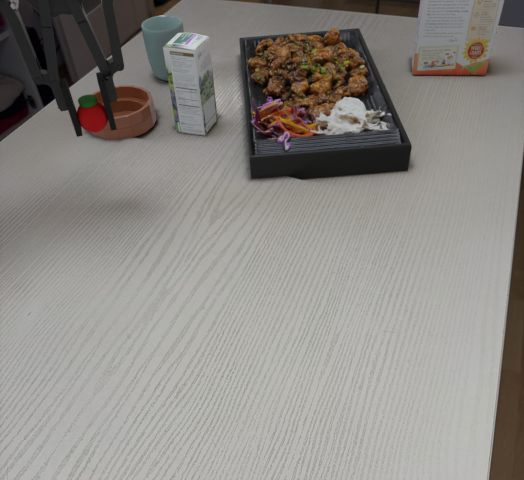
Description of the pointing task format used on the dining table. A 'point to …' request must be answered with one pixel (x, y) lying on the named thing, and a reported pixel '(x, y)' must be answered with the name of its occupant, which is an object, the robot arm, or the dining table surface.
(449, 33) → the cracker box
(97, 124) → the strawberry
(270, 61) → the food platter
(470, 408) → the dining table surface
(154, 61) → the cup
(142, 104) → the bowl
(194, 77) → the syrup box
